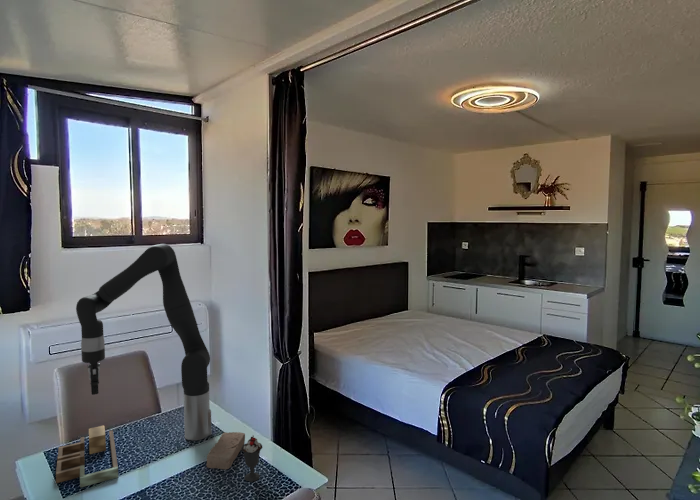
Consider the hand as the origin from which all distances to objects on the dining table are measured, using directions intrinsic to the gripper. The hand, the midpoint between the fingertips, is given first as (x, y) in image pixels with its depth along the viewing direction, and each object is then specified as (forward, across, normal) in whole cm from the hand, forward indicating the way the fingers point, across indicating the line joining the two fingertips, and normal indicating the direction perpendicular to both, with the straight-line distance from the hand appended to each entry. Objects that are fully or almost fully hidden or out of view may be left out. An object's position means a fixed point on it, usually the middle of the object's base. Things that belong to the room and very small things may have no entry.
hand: (94, 390), depth 162 cm
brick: (+18, -39, -39) cm, 58 cm away
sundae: (+18, -56, -42) cm, 72 cm away
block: (+18, -9, 0) cm, 20 cm away
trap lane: (+18, -19, +3) cm, 26 cm away
